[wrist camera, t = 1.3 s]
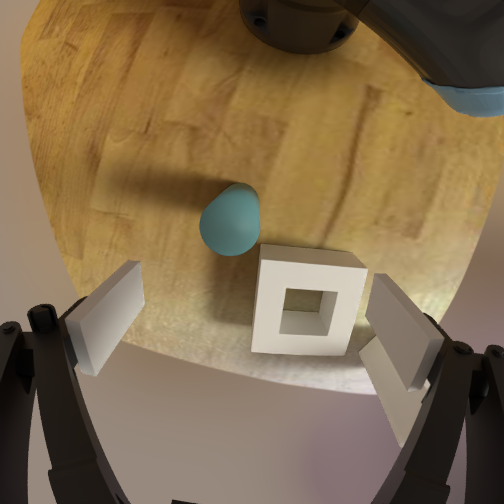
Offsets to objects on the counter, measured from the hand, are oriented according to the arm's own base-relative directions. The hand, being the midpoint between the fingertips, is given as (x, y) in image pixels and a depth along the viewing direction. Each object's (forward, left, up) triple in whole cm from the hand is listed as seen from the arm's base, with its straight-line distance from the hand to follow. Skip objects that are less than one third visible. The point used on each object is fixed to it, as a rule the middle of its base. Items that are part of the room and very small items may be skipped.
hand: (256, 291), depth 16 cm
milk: (+18, +22, -21) cm, 35 cm away
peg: (-2, -2, -21) cm, 21 cm away
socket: (+9, +7, -21) cm, 24 cm away
